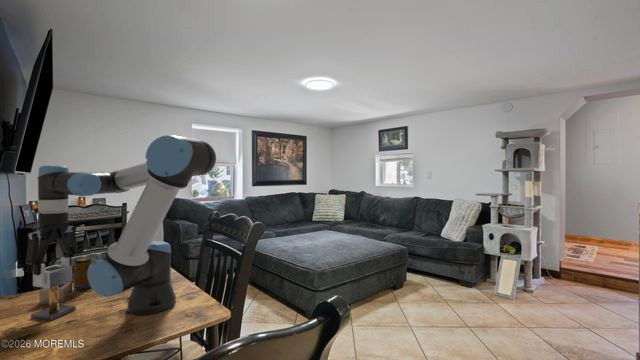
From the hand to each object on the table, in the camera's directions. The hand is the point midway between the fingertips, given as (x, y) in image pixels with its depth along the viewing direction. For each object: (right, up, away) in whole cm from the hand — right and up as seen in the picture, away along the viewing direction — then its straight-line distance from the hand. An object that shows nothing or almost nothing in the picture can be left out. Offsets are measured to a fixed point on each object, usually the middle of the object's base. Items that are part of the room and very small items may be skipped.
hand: (53, 279), depth 99 cm
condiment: (-7, -11, +22) cm, 26 cm away
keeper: (0, -12, 0) cm, 12 cm away
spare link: (-9, -11, +11) cm, 18 cm away
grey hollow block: (0, -1, 0) cm, 1 cm away
